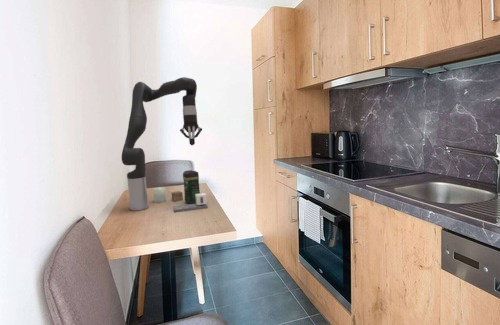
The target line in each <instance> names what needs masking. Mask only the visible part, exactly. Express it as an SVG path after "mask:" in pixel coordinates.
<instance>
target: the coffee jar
mask: <svg viewBox="0 0 500 325" xmlns="http://www.w3.org/2000/svg"><path fill="white" fill-rule="evenodd" d="M199 175H200V174H199V172H198V171H197V170H192V169H191V170H190V169H189V170H184V171H183V172H182V179H183V189H184V190H183V191H184V192H183V193H184V203H187V204H196V197H195V194H200V176H199Z"/></svg>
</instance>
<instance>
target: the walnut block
mask: <svg viewBox="0 0 500 325" xmlns="http://www.w3.org/2000/svg"><path fill="white" fill-rule="evenodd" d="M183 199H184V198H183V192H182V191H181V190H179V191H177V190H176V191H172V192H171V201H172V202H175V203H176V202H181V201H183Z"/></svg>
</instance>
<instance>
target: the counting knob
mask: <svg viewBox="0 0 500 325" xmlns="http://www.w3.org/2000/svg"><path fill="white" fill-rule="evenodd" d="M195 197H196V203H195V204H197V205H203V204H206V205H207V204H208V202H207V194H206V193H205V192H203V193H200V194H195Z"/></svg>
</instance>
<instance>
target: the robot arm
mask: <svg viewBox="0 0 500 325" xmlns="http://www.w3.org/2000/svg"><path fill="white" fill-rule="evenodd" d="M197 87H198V85H197V82H196V80H194V79H193V78H190V77H187V76H186V77H185V76H184V77H178V78H177V79H175V80H171V81H166V82H164V83H161V85H160V86H159V88H158V89H152V88H151V87H150V86H149V85H147V83H145V82H143V81H137V82H136V83H135V85H134V86H133V89H132V95H131V96H132V98H131V108H130V109H131V110H130V116H129V120H128V125H127V126H128V127H127V131H126V137H125V141H124V145H123V148H122V150H121V162H122V164H123V165H124V166H135V168H134V169H133V170H132V171H129V172H128V173H126V178H127V179H126V180H127V187H128V188H127V189H128V199H129V208H130V211H142V210H146V209H148V208H149V200H148V189H147V178H146V170H147V169H146V155H145V151H144V149H143V148H141V147H135V145H136V143H137V141H138V140H139V138H140V137H142V135H143V134H144V133H145V131H146V129H147V121H148V117H147V113H146V109H145V106H144V103H149V102H153V101H155V100H158V99H160V98H162V97H165V96H169V95H173V94H179V93H181V91H185V95H183V96H182V118H183V126H182V127H181V128H180V129H179V132H180V133H181V134H182V135H183V136H184V138H187V139H188V142H189V143H188V144H189V145H190V146H194V145H195V143H196V140H195V138H197V137H198V136H199V135H200V134H201V132H202V131H203V127H200V126H199V124H198V112H197V105H196V104H197V103H196V97H197V90H198V88H197ZM185 131H186V132H187V133H186V132H185Z"/></svg>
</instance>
